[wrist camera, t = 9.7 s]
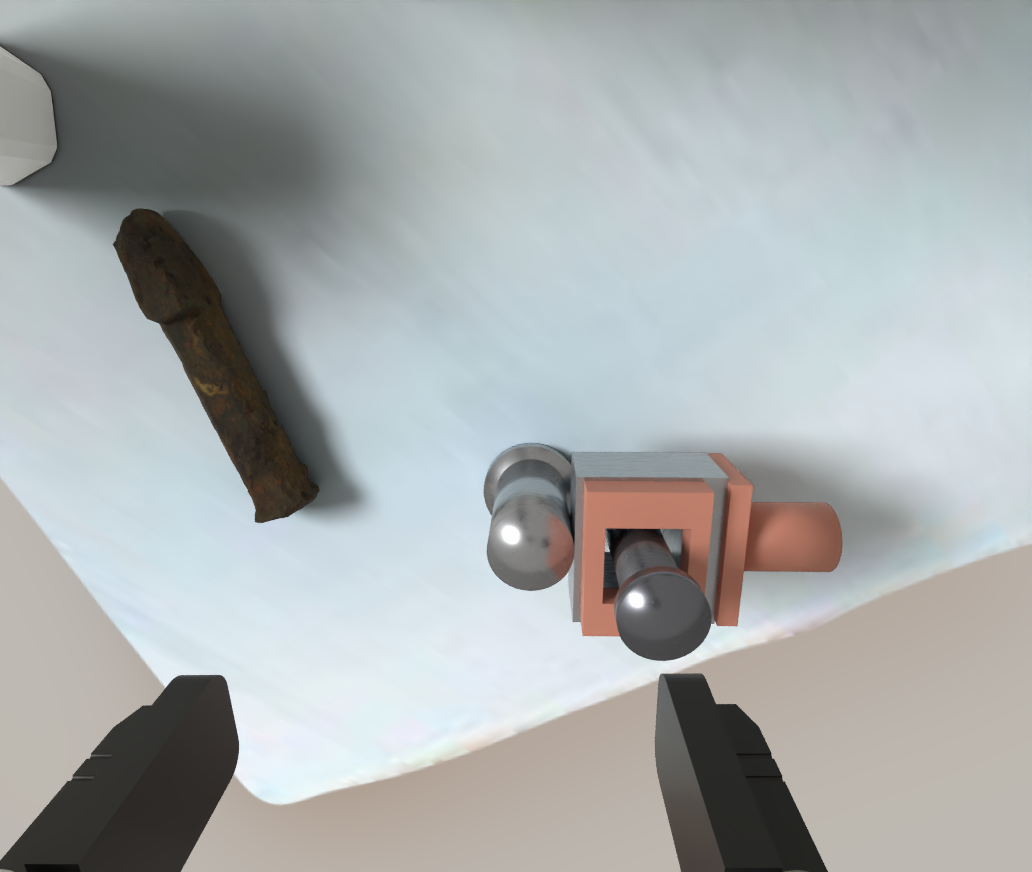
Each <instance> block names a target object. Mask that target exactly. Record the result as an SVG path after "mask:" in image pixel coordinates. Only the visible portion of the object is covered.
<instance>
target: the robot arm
mask: <svg viewBox="0 0 1032 872" xmlns="http://www.w3.org/2000/svg"><path fill="white" fill-rule="evenodd" d="M238 754H239V740H238V734H237V729H236V724H235V720H234V715H233V710H232V705H231V700H230V695H229V690H228V685H227V682H226V680H225V678H224V677H223V676H221V675H180V676H177V677H175V678H174V679H173V680H172V681H171V682H170V683H169V685H168V686H167V687H166V688H165V690H164V691H163V692H162V693H161V695H160V696H159V697H158V698H157V699H156V701H155V702H154V703H153V705H152V706H142V707H141V708H140V709H138V710H137V711H135V712H134V713H133V714H131V715H130V716H128V717H127V718H126V719H124V720H123V721H122V722H120V723H119V724H117V725H116V726H115V727H114V728H113V729H112V730H111V731H110V732H109V733H108V734H107V736H106V737H105V738H104V739H103V740H102V741H101V743H100V744H99V745H98V746H97V748H96V749H95V750H94V751H93V752H92V753H91V757H90V759H86V760H85V761H84V763H83V764H82V765H81V766H80V767H79V769H78V770H77V771H76V772H75V773H74V775H73V778H72V780H71V781H67V783H66V784H65V785H64V786H63V787H62V789H61V790H60V791H59V792H58V793H57V794H56V796H55V797H54V798H53V799H52V800H51V802H50V803H49V804H48V805H47V806H46V807H45V809H44V810H43V811H42V812H41V813H40V815H39V816H38V817H37V818H36V819H35V820H34V822H33V823H32V824H31V825H30V826H29V827H28V829H27V830H26V831H25V832H24V833H23V835H22V836H21V837H20V838H19V839H18V840H17V842H16V843H15V844H14V845H13V846H12V847H11V849H10V850H9V851H8V852H7V853H6V855H5V856H4V857H3V858H2V859H1V860H0V872H181V870H182V868H183V866H184V864H185V863H186V861H187V859H188V857H189V855H190V853H191V851H192V850H193V848H194V846H195V844H196V842H197V841H198V838H199V837H200V835H201V833H202V831H203V830H204V828H205V826H206V824H207V822H208V821H209V819H210V817H211V815H212V813H213V812H214V810H215V808H216V806H217V804H218V802H219V800H220V799H221V797H222V795H223V793H224V791H225V790H226V788H227V786H228V784H229V782H230V780H231V778H232V776H233V774H234V771H235V768H236V765H237V760H238ZM655 757H656V766H657V773H658V778H659V782H660V787H661V790H662V795H663V799H664V803H665V807H666V811H667V815H668V819H669V823H670V827H671V832H672V836H673V840H674V844H675V848H676V852H677V855H678V860H679V864H680V868H681V872H828V871H827V869H826V867H825V865H824V863H823V861H822V859H821V856H820V854H819V852H818V850H817V848H816V846H815V844H814V842H813V840H812V838H811V836H810V834H809V831H808V829H807V827H806V825H805V823H804V821H803V819H802V817H801V814H800V812H799V810H798V808H797V806H796V804H795V802H794V800H793V798H792V796H791V793H790V792H789V789H788V787H787V785H786V783H785V782H783V780H782V775H781V772H780V771H779V768H778V766H777V764H776V762H775V760H774V759H772V756H771V751H770V749H769V747H768V745H767V743H766V741H765V739H764V737H763V735H762V733H761V731H760V728H759V727H758V726H757V725H756V724H755V723H754V722H753V721H752V720H751V719H750V718H749V717H748V716H747V715H746V714H745V713H744V712H743V711H742V710H741V709H740V708H739V707H738V706H737V705H736V704H716V703H715V701H714V698H713V696H712V693H711V691H710V688H709V686H708V683H707V681H706V679H705V677H704V675H703V674H661V675H660V677H659V683H658V699H657V715H656V732H655Z"/></svg>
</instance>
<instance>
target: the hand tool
mask: <svg viewBox="0 0 1032 872" xmlns="http://www.w3.org/2000/svg"><path fill="white" fill-rule="evenodd" d="M113 246H114V247H115V249H116V251H117V254H118V257H119V259H120V262H121V263H122V266H123V268H124V271H125V272H126V274H127V276H128V279H129V282H130V285H131V287H132V290H133V293H134V296H135V299H136V301H137V303H138V305H139V307H140V309H141V310H142V312H143V313H144V315H145V316H146V318H147V319H149V320H152V321H154V322H157V323H159V324H160V325H161V328H162V330H163V332H164V333H165V335H166V337H167V338H168V339H169V341H170V343H171V344H172V346H173V348H174V350H175V351H176V353H177V355H178V357H179V358H180V360H181V362H182V364H183V367H184V370H185V372H186V374H187V376H188V378H189V380H190V382H191V384H192V386H193V388H194V389H195V391H196V393H197V395H198V397H199V399H200V401H201V403H202V405H203V407H204V409H205V411H206V413H207V415H208V417H209V419H210V421H211V423H212V425H213V427H214V429H215V430H216V431H217V433H218V435H219V437H220V439H221V441H222V443H223V445H224V447H225V449H226V451H227V453H228V455H229V457H230V459H231V461H232V462H233V464H234V466H235V467H236V469H237V471H238V472H239V474H240V476H241V478H242V480H243V483H244V484H245V486H246V487H247V489H248V492H249V494H250V496H251V497H252V500H253V503H254V506H255V509H256V512H255V522H257V523H263V522H267V521H271V520H275V519H279V518H285V517H288V516H290V515H291V514H293V513H294V512H296V511H298V510H300V509H302V508H303V507H304V506H305V505H307V504H309V503H310V502H312V501H313V500H314V499H315V498H316V496H317V493H318V492H319V486H317V485H316V484H314V483H312V482H310V481H309V480H308V471H307V466H306V465H305V464H300V462H299V460H298V459H297V457H296V455H295V453H294V451H293V449H292V448H291V446H290V443H289V440H288V437H287V435H286V433H285V432H284V430H283V427H282V426H281V425H280V424H279V423H278V421H277V419H276V417H275V415H274V412H273V410H272V409H271V407H270V404H269V402H268V400H267V394H266V392H265V391H264V390H263V389H262V387H261V386H260V384H259V382H258V380H257V378H256V376H255V374H254V372H253V370H252V368H251V366H250V365H249V363H248V361H247V359H246V357H245V355H244V353H243V351H242V349H241V347H240V345H239V343H238V341H237V339H236V338H235V335H234V333H233V331H232V329H231V327H230V325H229V323H228V321H227V319H226V317H225V315H224V313H223V311H222V308H221V304H220V299H221V294H220V292H219V290H218V288H217V287H216V285H215V283H214V282H213V280H212V278H211V277H210V275H209V274H208V272H207V271H206V269H205V268H204V267H203V265H202V264H201V263H200V261H199V260H198V259H197V257H196V256H195V255H194V253H193V252H192V251H191V250H190V248H189V247H188V246H187V244H186V243H185V242H184V241H183V239H182V238H181V237H180V236H179V235H178V233H177V232H176V231H175V230H174V229H173V228H172V227H171V226H170V225H169V224H168V222H167V221H166V220H165V219H164V218H163V217H162V216H161V215H160V214H159V213H157V212H155V211H153V210H149V209H135V210H133V211H132V212H131V214H130V215H129V216H127V217H125V218H124V219H123V222H122V224H121V227H120V231H119V233H118V235H117V238H116V241H115V242H114V243H113Z"/></svg>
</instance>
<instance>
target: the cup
mask: <svg viewBox="0 0 1032 872" xmlns="http://www.w3.org/2000/svg"><path fill="white" fill-rule="evenodd" d="M56 149H57V140H56V131H55V123H54V114H53V105H52V97H51V91H50V89H49V87H48V86H47V84H46V82H45V81H44V79H43V77H42V76H41V74H40V73H38V72H37V71H35V70H34V69H32V68H31V67H29V66H28V65H27V64H25V63H24V62H22V61H21V60H19V59H18V58H16V57H15V56H13V55H12V54H11V53H9V52H8V51H6V50H5V49H3V48H2V47H0V185H13V184H15V183H16V182H18V181H20V180H22V179H23V178H25V177H27V176H28V175H30V174H32V173H34V172H35V171H37V170H39V169H40V168H42V167H44V166H45V165H47V164H49V163H51V161H52V159H53V156H54V154H55V152H56Z"/></svg>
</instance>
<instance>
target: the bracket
mask: <svg viewBox="0 0 1032 872" xmlns="http://www.w3.org/2000/svg"><path fill="white" fill-rule="evenodd" d="M707 454H708V455H709V456H710V458H711V459H712V460H713V461H714V462H715V463H716V464H717V465H718V466H719V468H720V469H721V470H722V471H723V472H724V473H725V474H726V475H727V476H728V477H729V481H728V491H727V502H726V512H725V522H724V532H723V542H722V552H721V562H720V572H719V582H718V592H717V602H716V612H715V622H716V624H717V626H737V625H738V616H739V607H740V598H741V590H742V581H743V572H744V571H789V572H831V571H833V570H834V569H835V568H836V567H837V565H838V563H839V561H840V557H841V553H842V532H841V527H840V523H839V520H838V517H837V515H836V513H835V511H834V510H833V508H832V507H831V506H830V505H829V504H827V503H812V502H751V500H752V491H753V485H752V484H751V483H750V482H749V481H748V480H747V479H746V478H745V477H744V476H743V475H742V474H741V473H740V472H739V471H738V470H737V469H736V468H735V467H734V466H733V465H732V464H731V463H730V462H729V461H728V460H727V459H726V458H725V456H724V455H723V454H722V453H707ZM713 503H714V492H713V491H712V489H711V488H710V487H709V486H708V484H707V483H706V482H689V481H585V483H584V517H583V551H582V585H581V626H582V634H583V636H620V635H619V632H618V628H617V624H616V619H615V615H614V601H615V597H616V594H617V592H618V590H619V588H603V576H604V551H605V528H627V529H683V533H682V546H681V558H680V570H682V571H684V572H686V573H687V574H689V575H690V576H691V577H693V578H694V579H695V580H696V582H697V583H698V584H699V586H700V587H701V589H702V591H703V593H704V595H705V588H706V578H707V567H708V556H709V546H710V535H711V524H712V513H713Z"/></svg>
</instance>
